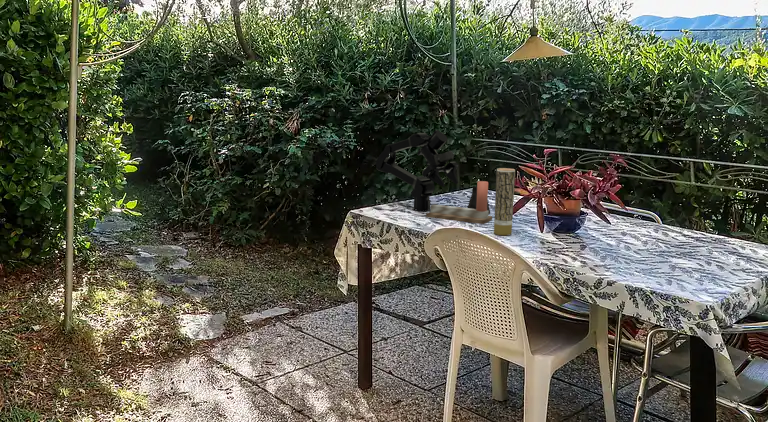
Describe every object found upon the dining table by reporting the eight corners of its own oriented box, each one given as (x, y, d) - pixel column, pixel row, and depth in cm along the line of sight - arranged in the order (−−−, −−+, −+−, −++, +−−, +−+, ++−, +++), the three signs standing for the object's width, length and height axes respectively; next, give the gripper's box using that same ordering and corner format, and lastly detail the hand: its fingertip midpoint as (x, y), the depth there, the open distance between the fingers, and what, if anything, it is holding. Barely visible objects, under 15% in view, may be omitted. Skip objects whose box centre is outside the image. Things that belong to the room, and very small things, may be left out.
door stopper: (490, 213, 289) (491, 186, 286) (481, 215, 285) (482, 188, 283) (475, 210, 296) (476, 184, 293) (466, 212, 292) (467, 185, 289)
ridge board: (426, 217, 280) (426, 206, 279) (435, 212, 289) (435, 202, 288) (483, 224, 268) (484, 213, 267) (492, 219, 277) (492, 209, 276)
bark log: (511, 236, 248) (515, 171, 243) (493, 235, 249) (496, 170, 244) (511, 232, 254) (515, 168, 249) (494, 231, 256) (497, 167, 251)
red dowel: (476, 211, 271) (477, 182, 269) (476, 209, 275) (477, 181, 273) (487, 211, 270) (488, 183, 268) (486, 209, 275) (488, 181, 272)
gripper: (428, 146, 274) (448, 175, 269) (455, 143, 288) (475, 171, 282) (413, 162, 281) (432, 191, 276) (441, 159, 295) (459, 186, 289)
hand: (450, 184), depth 281 cm, fingers open, 9 cm apart
